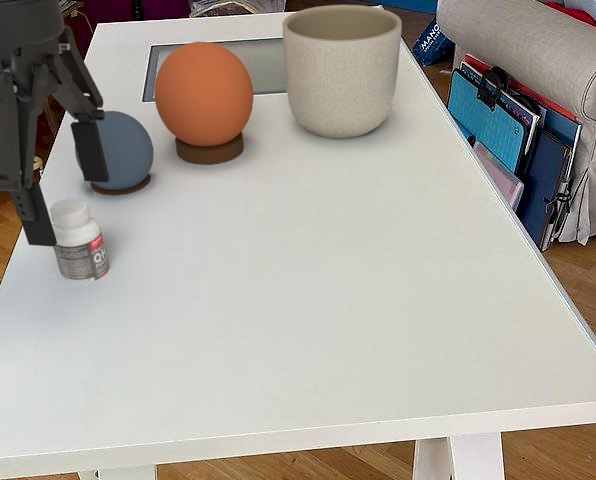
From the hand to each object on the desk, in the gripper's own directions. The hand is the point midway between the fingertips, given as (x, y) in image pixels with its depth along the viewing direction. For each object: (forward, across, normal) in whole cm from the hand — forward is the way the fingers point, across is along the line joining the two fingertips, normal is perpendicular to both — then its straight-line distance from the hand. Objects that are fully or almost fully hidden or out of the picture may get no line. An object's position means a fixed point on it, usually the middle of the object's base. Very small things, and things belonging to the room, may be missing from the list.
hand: (72, 210), depth 77 cm
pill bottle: (+10, 0, 0) cm, 10 cm away
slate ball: (+9, +21, +4) cm, 23 cm away
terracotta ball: (+9, +36, -4) cm, 37 cm away
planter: (+10, +47, -22) cm, 53 cm away
